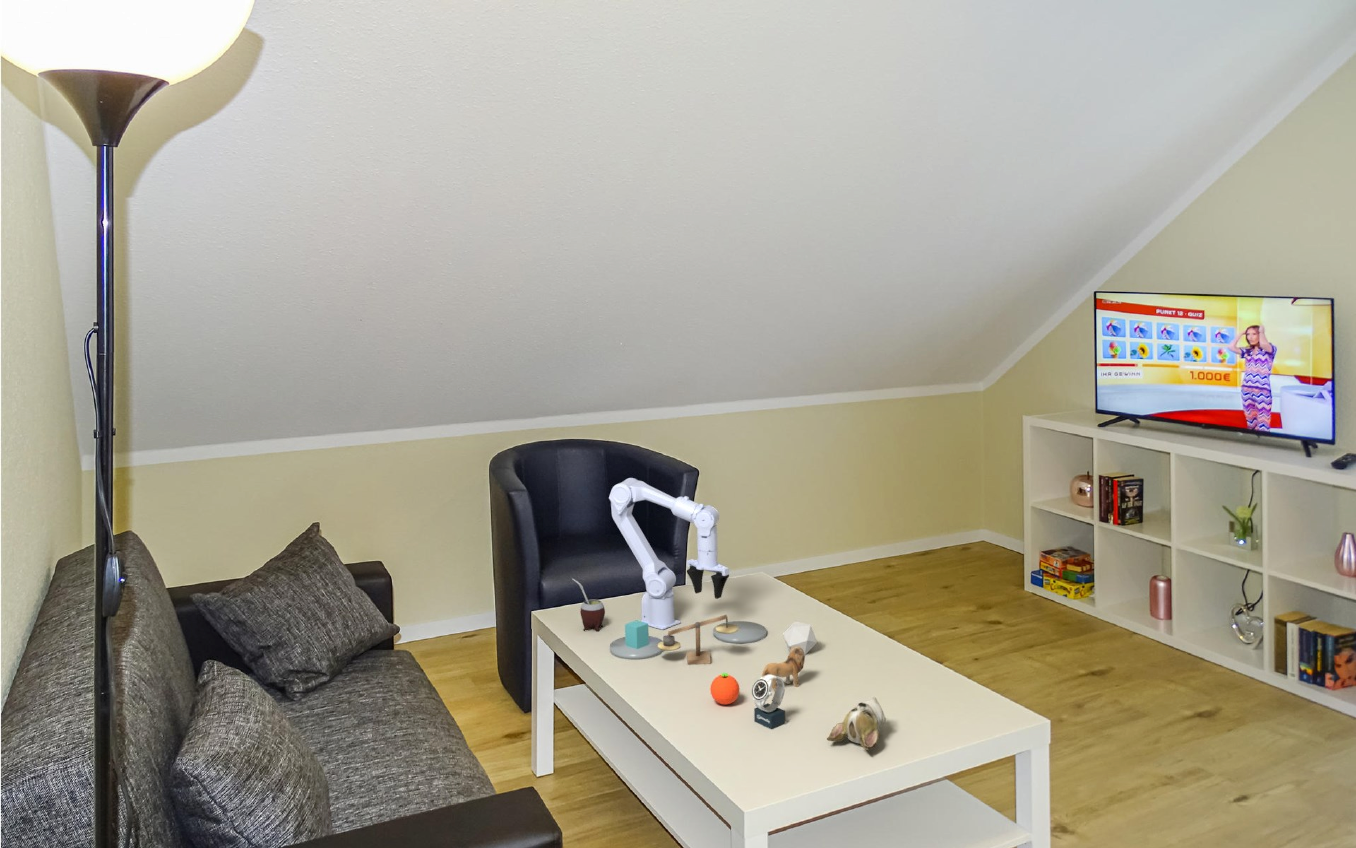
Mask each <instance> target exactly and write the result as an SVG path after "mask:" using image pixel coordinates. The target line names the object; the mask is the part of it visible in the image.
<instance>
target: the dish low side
mask: <svg viewBox="0 0 1356 848" xmlns="http://www.w3.org/2000/svg"><path fill="white" fill-rule="evenodd" d="M662 641H663V640H662V639H661V638H658V637H656V636H653V635H652V636H651V635H649V645H647V646H644V647H642V648H639V649H635V648H632V647H629V646H626V644H625V636H623V637H619V638H617V639H615V640H613V641H612V642H610V644H609V652H610V654H611V655H613V656H614V657H617V658H619V659H625V660H643V659H645V660H646V659H650V658H655V657H657V656H660V655H661V654H662V653H664V652H665V651H664V650H660V649H659V648H658V643H660V642H662Z"/></svg>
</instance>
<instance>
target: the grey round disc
mask: <svg viewBox="0 0 1356 848" xmlns="http://www.w3.org/2000/svg"><path fill="white" fill-rule="evenodd" d="M720 624H726V622H723V623H719V624H718V625H720ZM728 624H734V625H736V626H738V631H737V632H735V633H731V634H723V633H719V632H717V631H716V626H715V627H714V628H713V629H712V631H713V632H712V633H713V637H714V638H715V639H716V640H717V641H721V642H723V643H729V644H737V645H738V644H739V645H740V644H741V645H742V644H750V643H751V644H752V643H756V642H759V641H762V640H764V639H765V638H766V637H767V628H766V627H765V626H764V625H763V624H760V623H757V622H753V621H744V620H741V621H740V620H737V621H728Z"/></svg>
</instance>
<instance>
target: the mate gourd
mask: <svg viewBox="0 0 1356 848" xmlns="http://www.w3.org/2000/svg"><path fill="white" fill-rule="evenodd" d="M571 579H572V581H574V582H575V583H577V584H578V586H579V588H580V589H581V592H582V594H583V596H584V599H585V600H584V601H583V602H582V604H581V606H580V617H581V620H582V625H583V629H582V630H583V632H586V631H585V630H588V631H592V630H593V631H595V632H596V633H597V632H600V628H603V627H604V625H603V620H604V619H605V614H606V609H605V606H604V603H603V602H602V601H601V600H599V599H592V598H591V599H588V597H587V595H586V593H585V590H584V586H583V585H582V584H581V583H580V582H579V581H578V580H576V579H575V578H571Z"/></svg>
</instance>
